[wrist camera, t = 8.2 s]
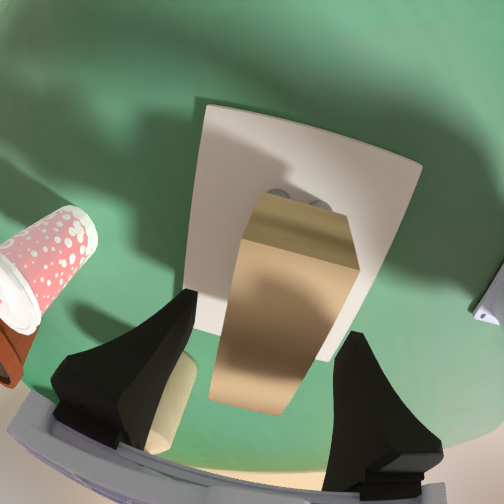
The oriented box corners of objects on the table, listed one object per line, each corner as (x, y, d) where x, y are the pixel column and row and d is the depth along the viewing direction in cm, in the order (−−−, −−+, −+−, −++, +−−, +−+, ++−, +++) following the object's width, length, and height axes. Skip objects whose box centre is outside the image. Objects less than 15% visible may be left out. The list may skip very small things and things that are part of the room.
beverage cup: (98, 197, 20) (-50, 323, 8) (112, 268, 23) (7, 403, 11) (43, 194, 21) (-85, 293, 9) (59, 258, 24) (-42, 366, 12)
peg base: (417, 162, 15) (444, 183, 12) (328, 352, 24) (328, 392, 20) (212, 104, 16) (186, 109, 12) (184, 315, 24) (166, 351, 21)
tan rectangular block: (261, 191, 14) (241, 238, 10) (346, 215, 14) (360, 270, 10) (226, 340, 19) (207, 398, 15) (287, 356, 19) (280, 416, 15)
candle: (137, 339, 27) (90, 424, 19) (189, 344, 26) (149, 442, 17) (156, 375, 30) (120, 454, 21) (204, 381, 29) (174, 469, 20)
